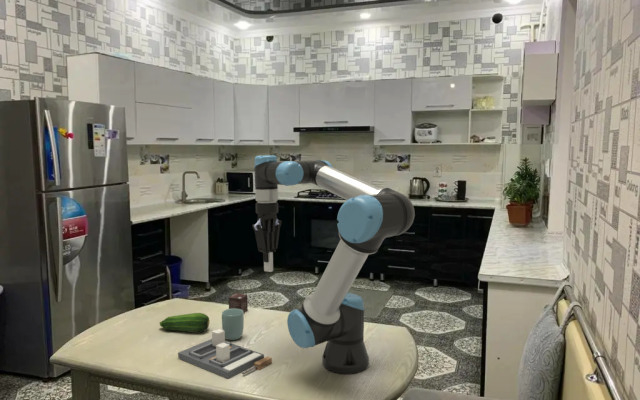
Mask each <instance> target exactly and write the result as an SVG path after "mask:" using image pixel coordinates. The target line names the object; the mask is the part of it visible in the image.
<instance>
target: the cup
mask: <svg viewBox="0 0 640 400" xmlns="http://www.w3.org/2000/svg"><path fill="white" fill-rule="evenodd" d="M244 316H245V315H244V313H243V310H241V309H229V308H228V309H225V310H223V311H222V312H221V328H222V329H221V330H223V331H225V340H230V341H236V340H238V339H240V338H241V337H242V335H243V333H244V328H245V327H244V323H245V320H244V318H245V317H244Z"/></svg>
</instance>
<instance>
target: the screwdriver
mask: <svg viewBox="0 0 640 400" xmlns="http://www.w3.org/2000/svg"><path fill="white" fill-rule="evenodd" d="M272 362H273V359H272V357H270V356H268V355H267V356H264V358H263V359H261V360H259V361H257V362H255V363H254V366H252V367H250V368H248V369H246V370H244V371H242V372H241V374H242V376H244V375H246V374H247V373H249V372H251V371H254V370H258V371H260V370H262V369H265V368H267V366H270V365H271V364H272Z"/></svg>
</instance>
